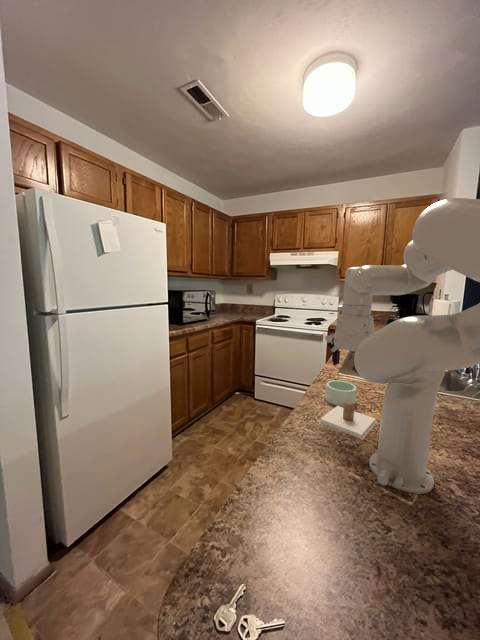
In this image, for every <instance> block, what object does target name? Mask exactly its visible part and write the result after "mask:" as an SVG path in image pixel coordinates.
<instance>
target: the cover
mask: <svg viewBox="0 0 480 640" xmlns="http://www.w3.org/2000/svg"><path fill="white" fill-rule="evenodd" d="M319 421H320V422H322V423H325V424H327V425H330V426H332V427H335V428H337V429H340V430H342V431H345V432H347V433H350V434H352V435H355V436H357V437H360V438H362V436H363V435H364V434H365V433H366V432H367V431H368V429H369V428H370V427H371V426H372V425H373V424H374V423H375V421H376V418H375V417H372V416H369V415H366V414H363V413H360V412H357V411H355V404H354V403H353V402H351V401H345V402H344V407H342V406H336V405H335V407H334V408H332V409H331V410H330V411H329V412H327V413H326V414H324V415H323V416H322V417H320V420H319ZM322 423H321V424H322ZM327 425H326V426H327ZM332 427H331V428H332ZM337 429H336V430H337ZM342 431H341V432H342ZM347 433H346V434H347ZM352 435H351V436H352ZM357 437H356V438H357Z"/></svg>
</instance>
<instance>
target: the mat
mask: <svg viewBox="0 0 480 640" xmlns="http://www.w3.org/2000/svg"><path fill="white" fill-rule="evenodd" d="M317 422H318V423H320V424H321V425H325V426H327V427H330V428H331V429H334V430H337V431H340V432H342V433H344V434H347V435H349V436H352V437H355V438H357V439H360V440H364V439H365V437H366V436H367V435H368V434H369V433H370V432H371V430H372V429H373V428H374V426H376V424H378V420H377V421H376V420H375V423H374V424H373V425H372V426H371V427H370V428H369V429H368V431H367V432H366V433H365V434H364V435H363V436H362V438H360V437H357V436H355V435H352V434H350V433H347V432H345V431H342V430H340V429H337V428H335V427H332V426H330V425H327V424H325V423H322V422H320V420H318V421H317Z"/></svg>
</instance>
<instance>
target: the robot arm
mask: <svg viewBox="0 0 480 640" xmlns="http://www.w3.org/2000/svg"><path fill="white" fill-rule="evenodd" d="M411 236H412V237H411V238H412V240H410V242H408V243H407V245H406V246H405V248H404V252H403V260H404V261H403V262H404V264H402V265H386V264H385V265H381V264H379V265H378V264H377V265H375V264H368V265H367V264H366V265H362V266H352V267H348V268H347V269H346V271H345V273H344V274H345V275H344V287H343V288H344V290H343V303H342V304H341V305H340V304H339V305H338V307H337V309H338V310H339V311H341V314H339V315H338V317H337V321H336V325H335V330H334V331H335V332H334V333H332V334H331V333H330V334H329V335H326V336H325V337H324V338H325V342H326V343H327V346H328V348H329V349H330V352H331V353H332V355H331V356H332V357H331V362H332V365H333V366H338V365H339V364H340V358H341V357H340V356H341V351H340V350H341V349H342V350H344V351H345V350H346V351H350V352H354V357H353V358H354V359H353V362H354V364H353V365H354V368H355V370H356V372H357V374H358V375H359V376H360V377H361V378H362V379H364V381H366V382H369V383H370V384H371V383H372V384H375V385H385V384H387V386H386V387H385V390H384V392H383V396H382V397H383V398H382V404H381V415H380V424H379V433H378V436H379V437H378V445H377V451H376V452H374V453H372V454H371V455H370V457H369V458H368V464H369V468H370V470H371V471H372V473H373V474H374V475H375V476H376V477H377V482H378V483H379V484H380V485H381V486H387V485H389V486H391V487H393V488H395V489H398V490H400V491H403V492H406V493H407V492H408V493H413V494H415V495H422V494H423V495H424V494H428V493H429V492H432V490H433V489H434V486H435V479H434V475H433V474H432V472H431V471H430V470H429V469H428V468H427V467H428V459H429V452H430V445H431V436H432V429H433V422H434V415H435V409H436V402H437V396H438V393H439V389H440V387H441V383H442V382H443V379H444V376H445V373H446V371H455V370H456V371H457V370H464V369H467V368H471V367H474V366H477V365H480V302H479V303H477V304H476V305H473V306H471V307H469V308H467V309H465V310H462V311H459V312H456V313H452V314H441V315H440V314H439V315H437V314H436V315H411V316H406V317H401V318H399V319H396V320H394V321H392V322H389V323H388V324H387V325H384V326H383V327H382V328H380V329H379V330H377V331H376V332H375V323H374V317H373V316H372V315H371V314H372V306H373V296H401V295H402V296H403V295H407V294H410V293H412V292H417V291H418V290H422V289H425V288H427V287H429V286H430V285H431V284H432V283H433V282H435V280H436V279H437V277H438V276H441V275H443V274H446V273H447V272H450V271H455V272H456V273H459V274H461V275H463V276H464V277H467V278H469V279H471V280H473V281H475V282H478V283H480V198H465V197H451V198H445V199H441V200H439V201H437V202H434V203H432V204H430V205H429V206H428V207H427V208H425V209H424V210H423V211H422V212H421V213H420V214H419V216H418V217H417V219H416V220H415V223H414V225H413V228H412V233H411Z"/></svg>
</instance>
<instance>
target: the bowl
mask: <svg viewBox="0 0 480 640" xmlns="http://www.w3.org/2000/svg"><path fill="white" fill-rule="evenodd" d="M357 390H358V389H357V386H356V385H355V384H354V383H351V382H349V381H344V380H338V379H337V380H329V381H327V382H325V395H324V396H325V401H326V402H327V403H329V404H331V405H333V406H335V407H336V406H340V407H343V408H344V402H345V401H351V402H353V403H354V404H357V403H356V401H357Z"/></svg>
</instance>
